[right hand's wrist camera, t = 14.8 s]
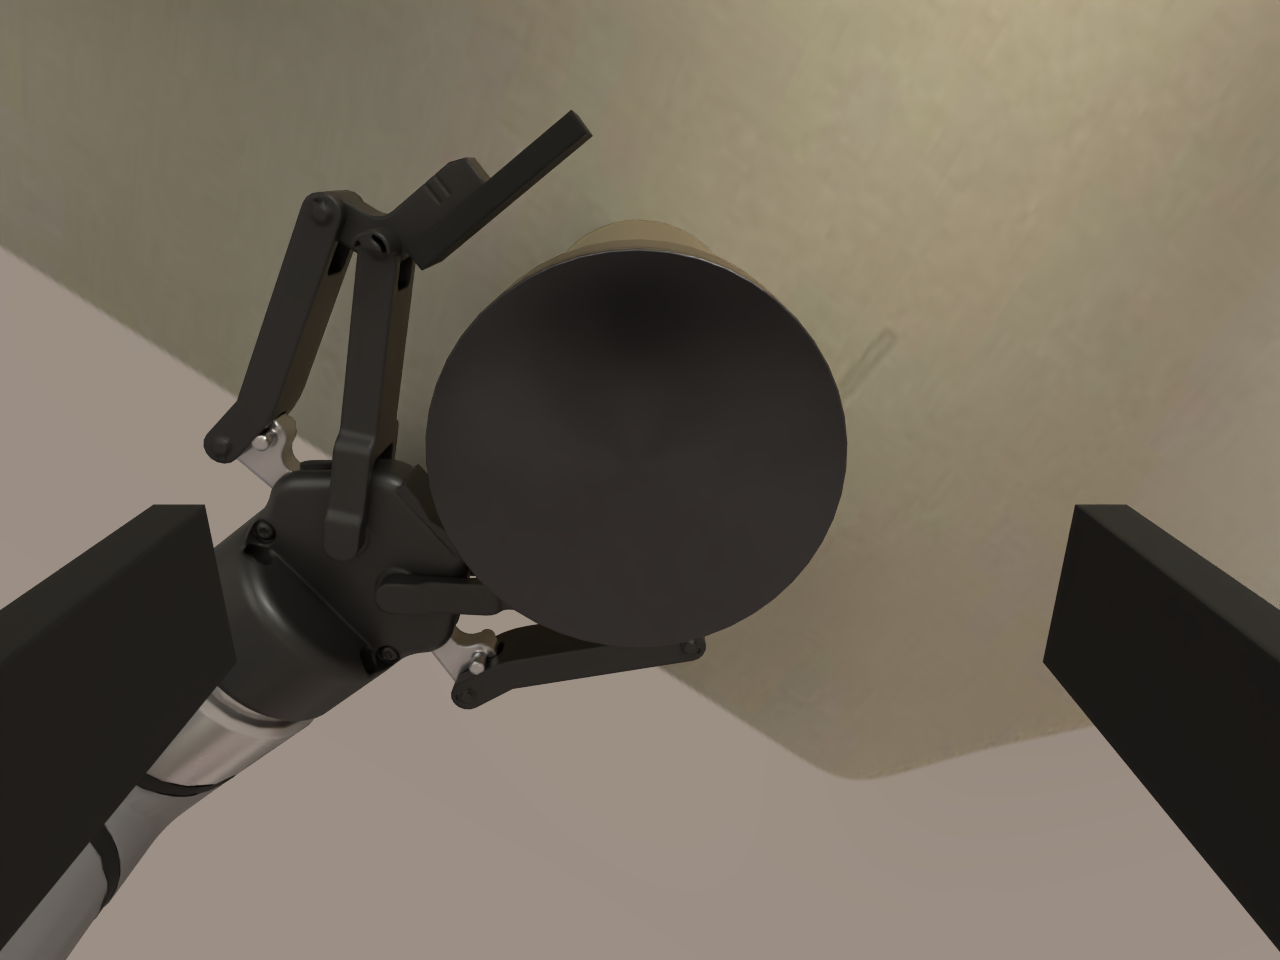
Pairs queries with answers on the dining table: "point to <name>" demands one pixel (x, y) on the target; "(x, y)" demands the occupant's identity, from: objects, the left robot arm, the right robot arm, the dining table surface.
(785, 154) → the dining table surface
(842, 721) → the dining table surface
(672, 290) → the lid
